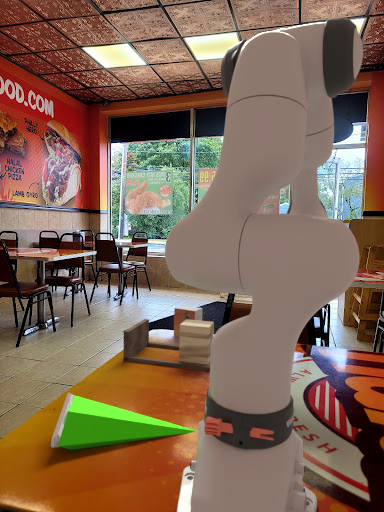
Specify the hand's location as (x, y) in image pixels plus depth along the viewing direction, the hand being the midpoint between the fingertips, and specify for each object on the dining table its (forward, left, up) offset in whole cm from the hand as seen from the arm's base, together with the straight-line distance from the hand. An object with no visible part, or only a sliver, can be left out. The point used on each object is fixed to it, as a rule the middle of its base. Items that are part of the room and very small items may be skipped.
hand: (224, 272), depth 93 cm
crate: (+1, +7, -25) cm, 26 cm away
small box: (+21, +16, -26) cm, 37 cm away
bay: (+1, +14, -26) cm, 29 cm away
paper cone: (-34, +12, -26) cm, 45 cm away
